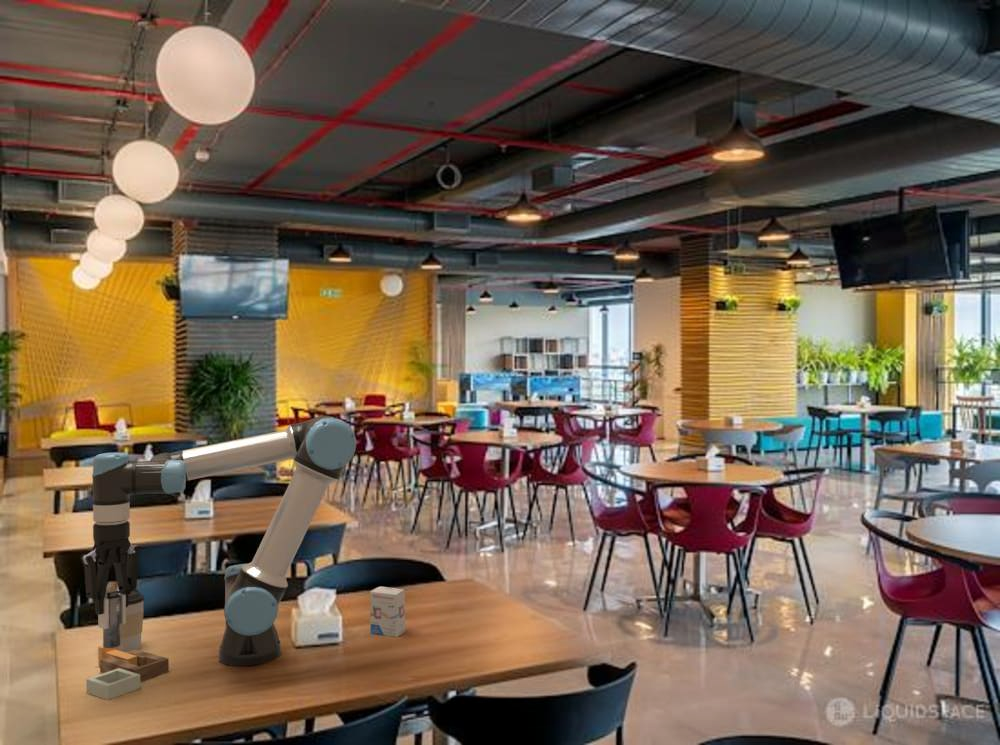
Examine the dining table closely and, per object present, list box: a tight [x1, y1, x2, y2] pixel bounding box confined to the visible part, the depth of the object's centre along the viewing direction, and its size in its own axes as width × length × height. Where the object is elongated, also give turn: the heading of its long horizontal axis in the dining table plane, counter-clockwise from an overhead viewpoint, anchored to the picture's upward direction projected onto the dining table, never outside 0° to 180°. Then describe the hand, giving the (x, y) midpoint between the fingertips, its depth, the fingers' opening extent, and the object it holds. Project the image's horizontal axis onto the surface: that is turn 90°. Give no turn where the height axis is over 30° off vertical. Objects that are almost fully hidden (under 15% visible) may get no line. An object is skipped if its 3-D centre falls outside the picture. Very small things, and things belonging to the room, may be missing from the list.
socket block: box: [99, 649, 170, 682], centre depth 201 cm, size 14×9×3 cm, turn 58°
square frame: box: [85, 668, 141, 701], centre depth 190 cm, size 8×8×3 cm
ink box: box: [369, 586, 406, 638], centre depth 229 cm, size 9×5×12 cm, turn 68°
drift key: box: [97, 645, 137, 666], centre depth 204 cm, size 10×4×4 cm, turn 58°
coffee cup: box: [117, 588, 145, 652], centre depth 217 cm, size 9×9×15 cm
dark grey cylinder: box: [102, 589, 121, 648], centre depth 190 cm, size 4×4×12 cm
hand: (112, 625), depth 189 cm, fingers closed on dark grey cylinder, 3 cm apart
